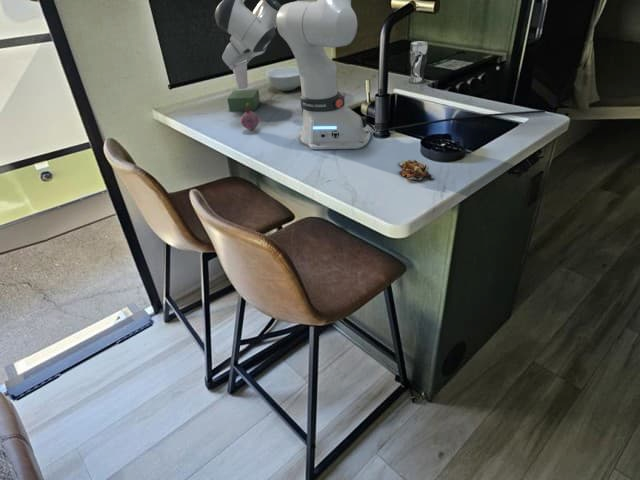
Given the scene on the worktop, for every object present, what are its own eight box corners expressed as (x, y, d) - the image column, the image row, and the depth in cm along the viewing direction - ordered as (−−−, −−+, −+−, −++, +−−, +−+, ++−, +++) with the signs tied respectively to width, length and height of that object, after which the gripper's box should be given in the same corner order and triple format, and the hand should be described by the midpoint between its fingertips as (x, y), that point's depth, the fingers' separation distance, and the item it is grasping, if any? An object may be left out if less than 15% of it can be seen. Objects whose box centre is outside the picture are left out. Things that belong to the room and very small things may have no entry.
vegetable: (240, 134, 147) (235, 105, 141) (245, 127, 152) (240, 99, 146) (258, 134, 146) (253, 105, 140) (262, 127, 151) (258, 99, 145)
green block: (260, 101, 173) (258, 89, 170) (255, 110, 165) (253, 97, 162) (235, 102, 174) (233, 90, 172) (229, 111, 166) (227, 98, 163)
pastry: (414, 160, 123) (414, 149, 121) (434, 179, 114) (436, 167, 112) (391, 165, 122) (391, 153, 120) (410, 184, 112) (411, 172, 110)
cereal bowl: (302, 94, 178) (300, 76, 174) (263, 94, 181) (261, 77, 176) (310, 82, 191) (309, 65, 187) (274, 82, 194) (272, 65, 190)
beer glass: (421, 84, 179) (424, 45, 170) (405, 82, 182) (407, 44, 173) (427, 79, 183) (430, 41, 175) (411, 78, 186) (414, 40, 178)
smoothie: (248, 90, 163) (241, 50, 154) (232, 90, 164) (225, 50, 156) (253, 84, 168) (247, 46, 159) (238, 84, 169) (231, 46, 161)
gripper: (266, 25, 157) (251, 51, 168) (227, 37, 144) (213, 65, 154) (278, 39, 158) (261, 64, 168) (239, 52, 144) (224, 79, 155)
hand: (238, 65), depth 161 cm, fingers closed on smoothie, 6 cm apart
